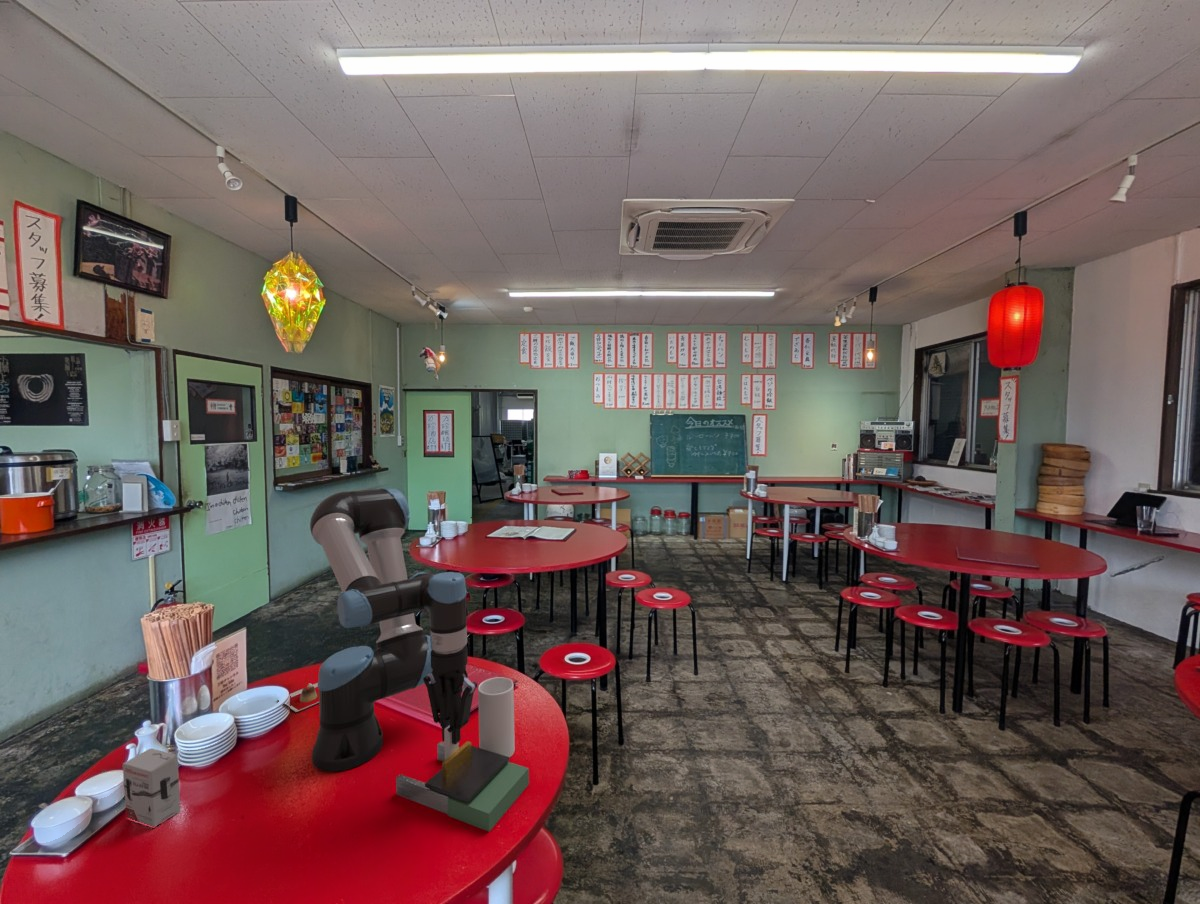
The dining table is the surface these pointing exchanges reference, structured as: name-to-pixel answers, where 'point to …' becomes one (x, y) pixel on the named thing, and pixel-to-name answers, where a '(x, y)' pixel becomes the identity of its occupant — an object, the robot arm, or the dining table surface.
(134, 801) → the ink box
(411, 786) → the bracket
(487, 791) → the green rectangular box
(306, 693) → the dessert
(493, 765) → the cover
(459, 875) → the dining table surface
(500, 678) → the cup
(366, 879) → the dining table surface
